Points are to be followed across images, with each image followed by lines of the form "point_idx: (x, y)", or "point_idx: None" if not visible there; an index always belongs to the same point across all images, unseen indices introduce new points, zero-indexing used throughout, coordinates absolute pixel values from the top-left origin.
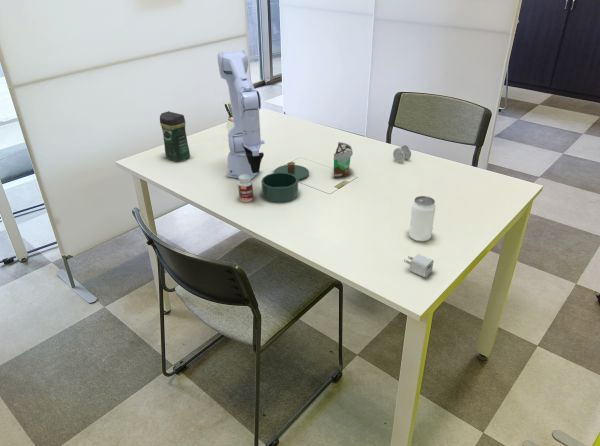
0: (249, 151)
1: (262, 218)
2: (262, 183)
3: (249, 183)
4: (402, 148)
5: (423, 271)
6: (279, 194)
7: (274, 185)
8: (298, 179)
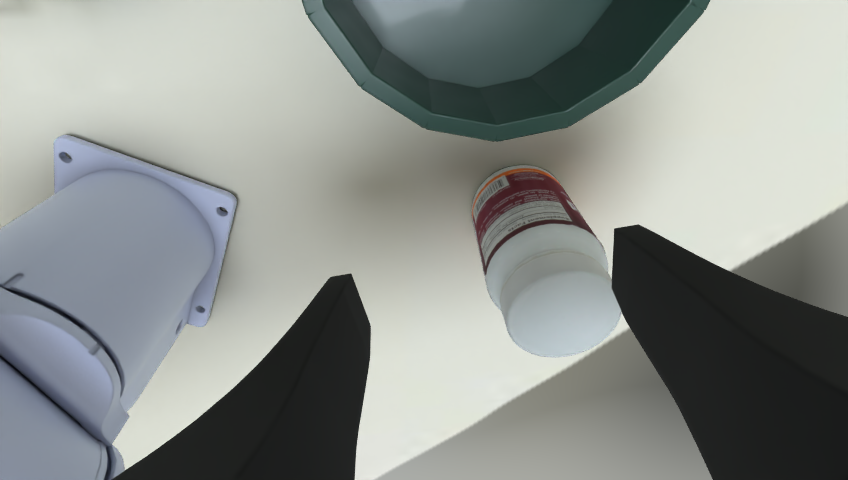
0: (332, 467)
1: (832, 88)
2: (556, 129)
3: (593, 251)
4: None
5: None
6: None
7: None
8: None
